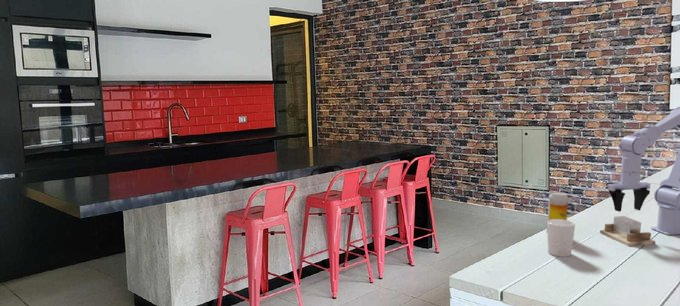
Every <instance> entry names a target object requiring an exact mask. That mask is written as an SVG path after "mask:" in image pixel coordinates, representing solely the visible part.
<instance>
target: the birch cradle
mask: <svg viewBox="0 0 680 306" xmlns="http://www.w3.org/2000/svg"><path fill="white" fill-rule="evenodd" d="M613 224H614V223H605V224H604V229H601V230H599V233H600V234H601V235H604V236H605V237H608V238H610V239H612V240H615V241H617V242H619V243H621V244H624V245H626V246H628V247H630V246H631V247H632V246H645V245H647V246H648V245H655V244H656V241H655V240H654V239H651V235H652V233H651V232H649V231H647V232H644V231H643V232H640V233H628V234H627V238H625V237H623V236H621V235H619V234H616V233H614V232H613Z"/></svg>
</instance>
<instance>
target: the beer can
mask: <svg viewBox="0 0 680 306" xmlns="http://www.w3.org/2000/svg"><path fill="white" fill-rule="evenodd" d="M568 203H569V197H568V194H567V193H565V192H562V191H560V192H559V191H554V192H553V191H552V192H549V195H548V207H547V223H546V224H547V225H546V233H547V235H548V220H551V219H562V220H568Z"/></svg>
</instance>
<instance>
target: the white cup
mask: <svg viewBox="0 0 680 306" xmlns="http://www.w3.org/2000/svg"><path fill="white" fill-rule="evenodd" d="M547 221H548V234H547V253H548V254H550V255H552V256H554V257H562V258H565V257H566V258H567V257H570V256H571V255H572V249H573V245H574V237H575V236H574V235H575V229H576V223H575V222H573V221H571V220H568V219H567V220H562V219H551V220H548V219H547Z"/></svg>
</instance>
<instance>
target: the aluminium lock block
mask: <svg viewBox="0 0 680 306" xmlns="http://www.w3.org/2000/svg"><path fill="white" fill-rule="evenodd" d="M612 224H613V232H614V233H616V234H619V235H621V236H623V237H625V238H627V234H628V233H641V228H642V222H640V221H638V220H635V219H633V218H630V217H628V216H626V215H622V216H621V215H620V216H614V217H613V223H612Z"/></svg>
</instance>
